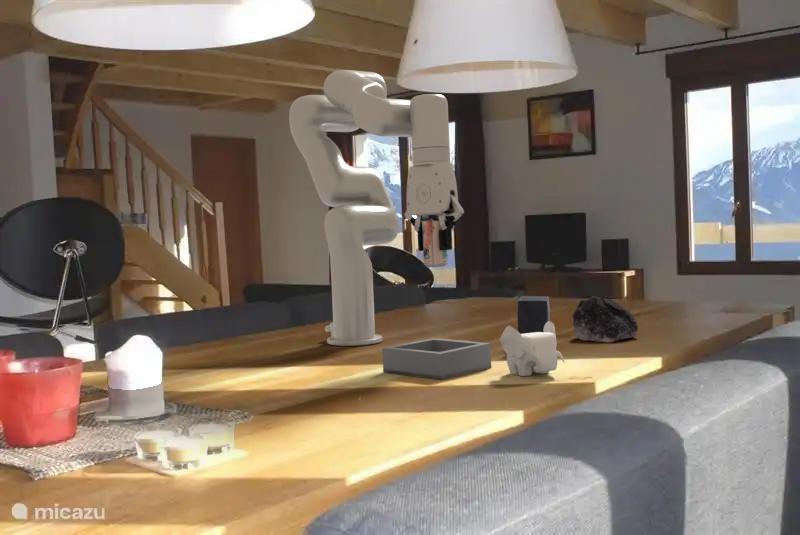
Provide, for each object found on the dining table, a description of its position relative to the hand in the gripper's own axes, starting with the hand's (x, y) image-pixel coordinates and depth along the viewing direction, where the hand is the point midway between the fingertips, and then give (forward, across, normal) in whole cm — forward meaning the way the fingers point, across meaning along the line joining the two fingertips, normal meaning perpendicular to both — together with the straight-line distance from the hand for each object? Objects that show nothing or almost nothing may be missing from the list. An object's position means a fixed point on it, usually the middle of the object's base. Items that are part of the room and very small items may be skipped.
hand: (435, 249), depth 172 cm
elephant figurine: (+22, +27, -6) cm, 35 cm away
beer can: (+4, 0, 0) cm, 4 cm away
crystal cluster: (+22, +15, +38) cm, 47 cm away
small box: (+22, +9, +20) cm, 31 cm away
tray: (+22, +9, -12) cm, 26 cm away
